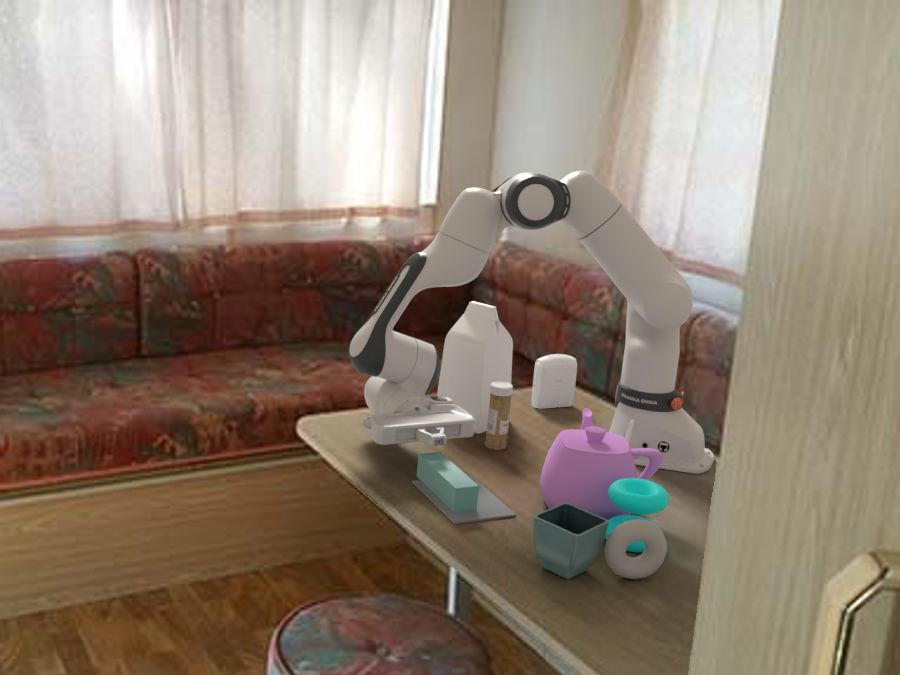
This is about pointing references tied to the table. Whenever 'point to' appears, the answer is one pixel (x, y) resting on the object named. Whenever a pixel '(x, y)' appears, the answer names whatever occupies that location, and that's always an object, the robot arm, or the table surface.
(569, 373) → the photo printer
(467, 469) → the table surface
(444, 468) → the teal block
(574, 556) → the flower pot
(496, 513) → the grey mat
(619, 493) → the donuts
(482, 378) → the milk
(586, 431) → the teapot
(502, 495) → the table surface
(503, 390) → the sprinkles bottle
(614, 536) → the donut
